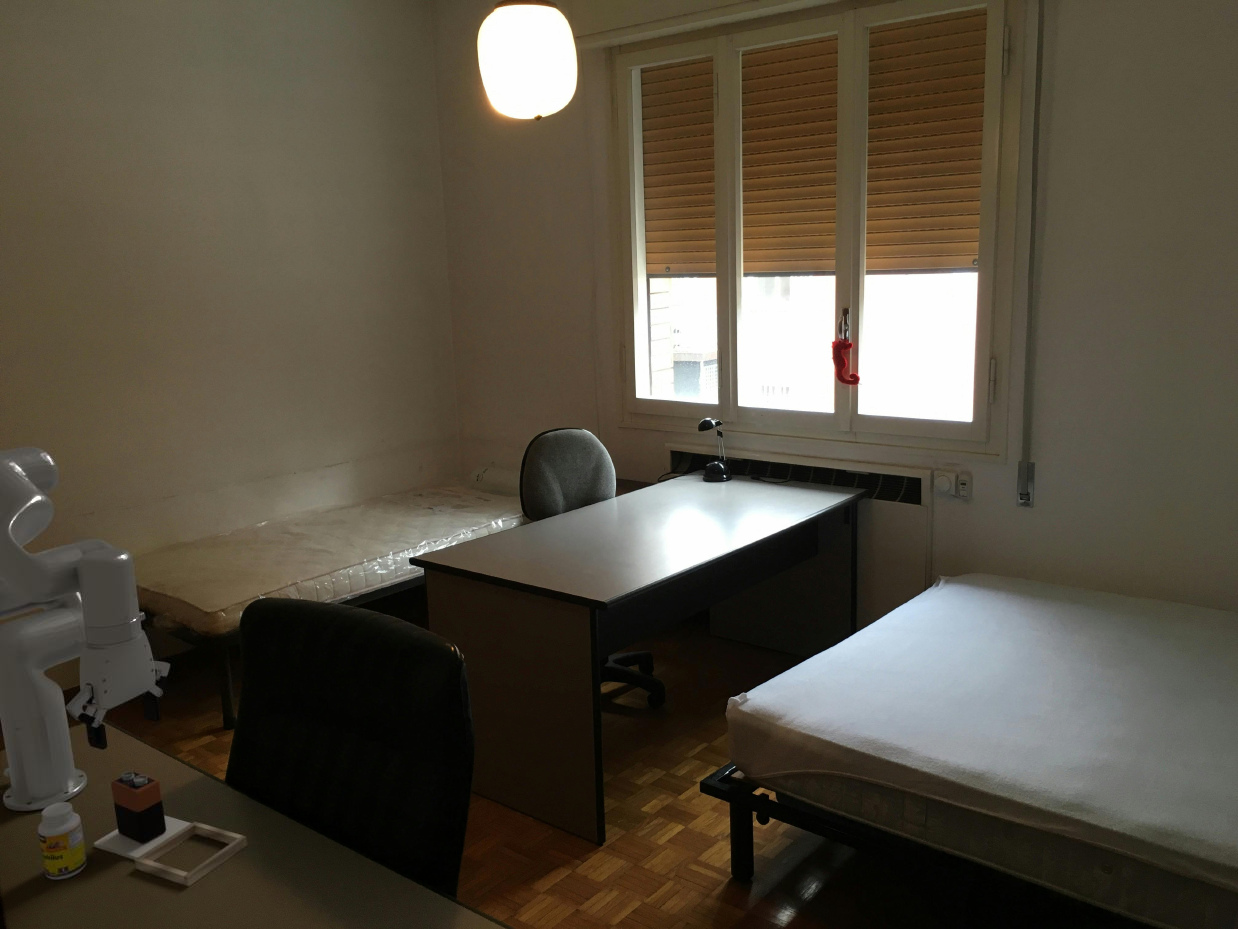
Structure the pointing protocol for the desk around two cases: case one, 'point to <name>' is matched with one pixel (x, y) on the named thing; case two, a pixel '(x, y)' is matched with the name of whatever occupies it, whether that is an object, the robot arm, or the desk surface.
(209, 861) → the holder frame
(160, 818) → the battery
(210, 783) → the desk surface
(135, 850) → the ceramic pad
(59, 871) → the supplement bottle
